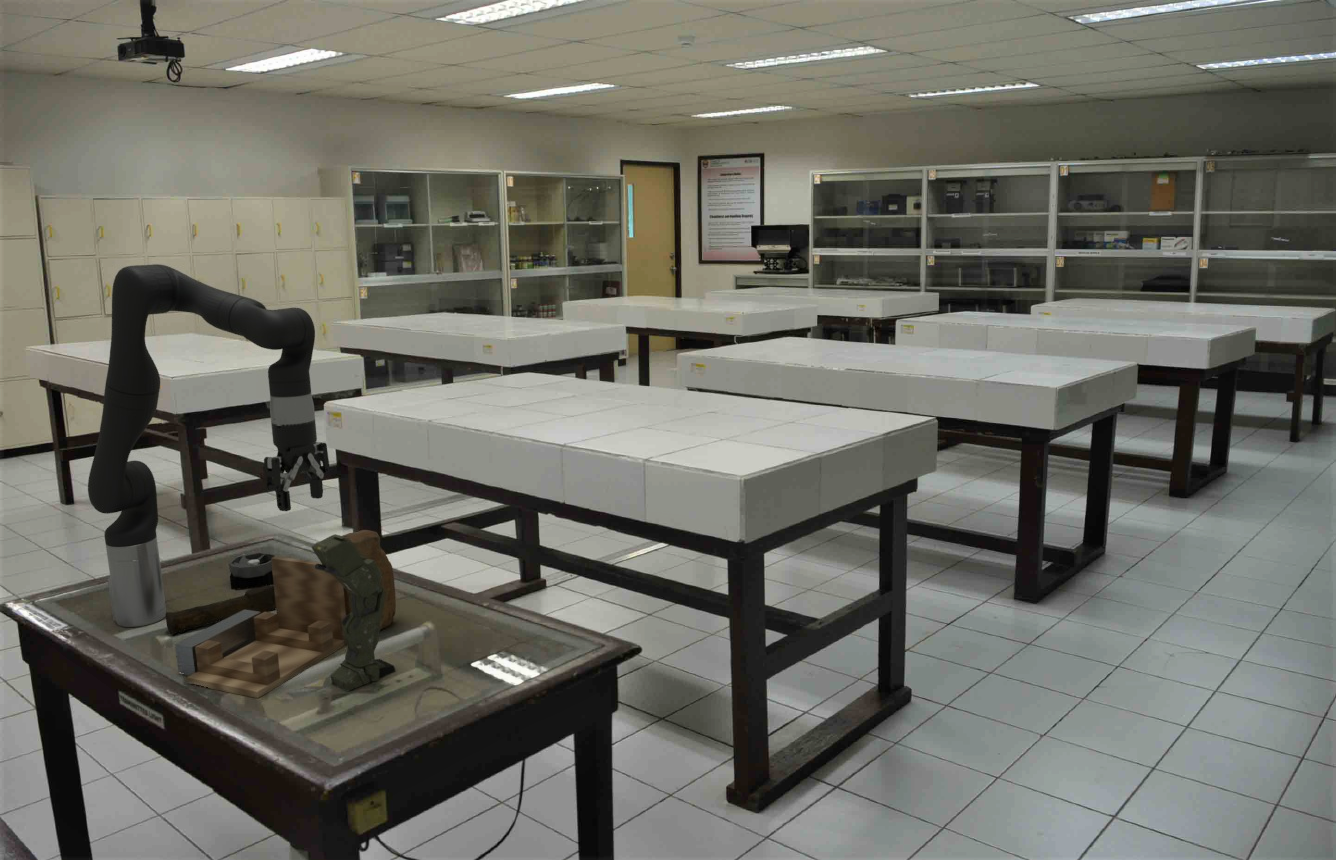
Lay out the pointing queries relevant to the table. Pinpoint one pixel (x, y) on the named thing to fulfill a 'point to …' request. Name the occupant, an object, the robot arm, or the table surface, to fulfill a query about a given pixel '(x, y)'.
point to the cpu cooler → (251, 571)
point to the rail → (218, 639)
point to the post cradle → (280, 633)
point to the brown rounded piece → (371, 549)
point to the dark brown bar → (222, 609)
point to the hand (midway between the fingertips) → (301, 504)
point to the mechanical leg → (356, 610)
